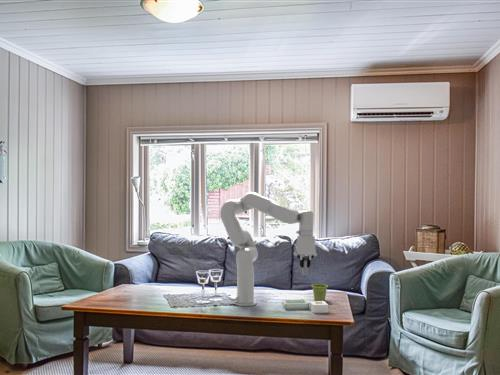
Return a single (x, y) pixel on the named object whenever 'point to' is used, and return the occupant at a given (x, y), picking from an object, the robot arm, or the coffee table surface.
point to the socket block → (318, 306)
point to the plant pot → (319, 291)
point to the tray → (295, 304)
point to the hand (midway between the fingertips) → (305, 267)
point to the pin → (305, 266)
